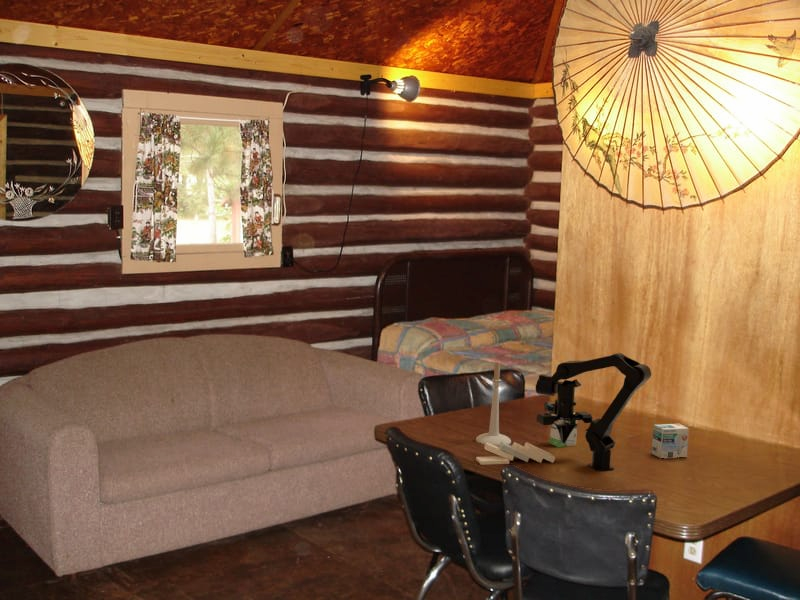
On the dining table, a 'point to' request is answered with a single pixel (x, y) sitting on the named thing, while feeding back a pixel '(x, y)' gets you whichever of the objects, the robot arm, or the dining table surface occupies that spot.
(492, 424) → the candlestick
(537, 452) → the domino
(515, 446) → the domino
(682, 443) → the light bulb box
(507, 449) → the domino
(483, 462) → the domino
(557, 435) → the ink box
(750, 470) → the dining table surface
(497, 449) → the domino
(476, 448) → the dining table surface
